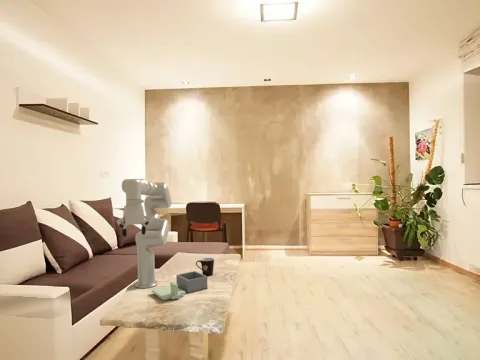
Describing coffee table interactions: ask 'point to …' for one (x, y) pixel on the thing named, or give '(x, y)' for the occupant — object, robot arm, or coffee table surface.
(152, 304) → the coffee table surface
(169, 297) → the lid
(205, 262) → the coffee mug
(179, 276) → the tub
